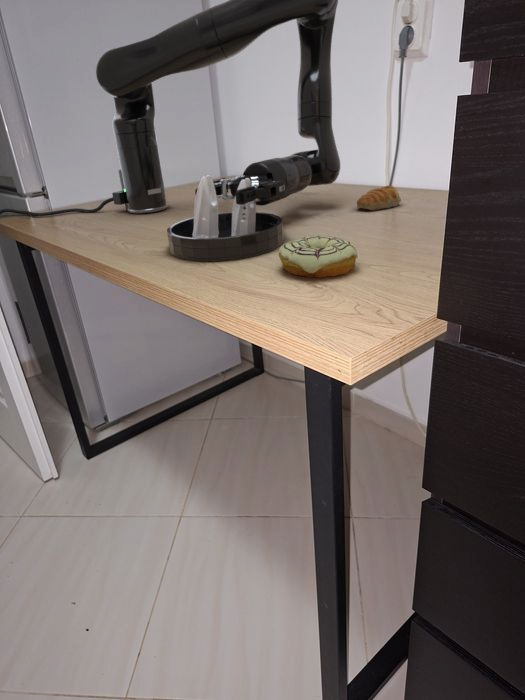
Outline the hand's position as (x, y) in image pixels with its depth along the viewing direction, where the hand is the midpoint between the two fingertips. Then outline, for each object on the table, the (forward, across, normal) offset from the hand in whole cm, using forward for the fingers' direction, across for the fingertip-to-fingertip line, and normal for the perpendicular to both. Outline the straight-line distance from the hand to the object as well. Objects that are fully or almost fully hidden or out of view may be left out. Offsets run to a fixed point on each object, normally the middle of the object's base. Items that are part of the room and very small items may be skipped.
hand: (216, 197), depth 81 cm
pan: (-1, 0, +8) cm, 8 cm away
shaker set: (-1, 0, +8) cm, 8 cm away
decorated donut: (+5, +21, +8) cm, 23 cm away
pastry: (-36, +13, +8) cm, 39 cm away
